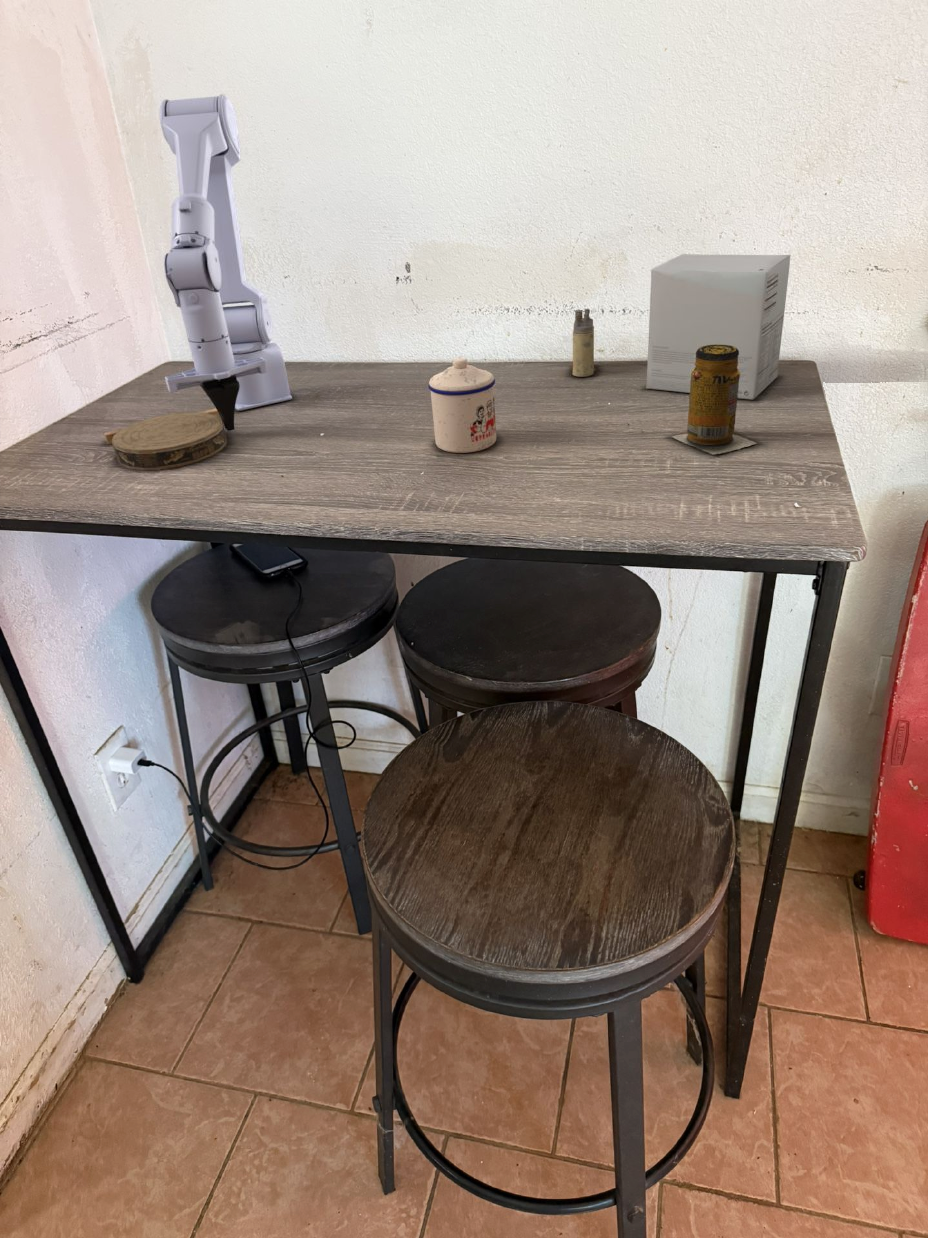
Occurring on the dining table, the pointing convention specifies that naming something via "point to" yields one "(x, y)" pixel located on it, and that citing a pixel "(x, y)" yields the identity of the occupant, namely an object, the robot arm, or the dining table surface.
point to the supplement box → (717, 317)
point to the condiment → (714, 401)
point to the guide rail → (110, 434)
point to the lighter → (583, 344)
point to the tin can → (169, 441)
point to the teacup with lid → (463, 408)
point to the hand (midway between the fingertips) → (229, 428)
